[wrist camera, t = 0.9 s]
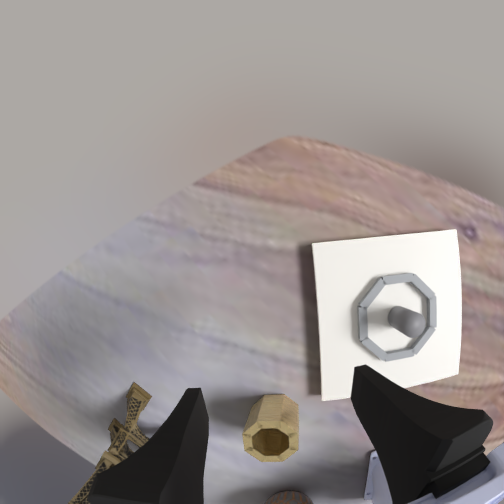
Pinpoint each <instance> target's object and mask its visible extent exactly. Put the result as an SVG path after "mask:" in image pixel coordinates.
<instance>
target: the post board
mask: <svg viewBox="0 0 504 504" xmlns="http://www.w3.org/2000/svg"><path fill="white" fill-rule="evenodd" d="M312 254H313V265H314V276H315V288H316V300H317V315H318V331H319V350H320V374H321V398H322V401H327V400H336V399H344V398H351V391H352V383H353V375H354V367H357V366H361V365H365V364H366V365H368V366H369V367H371V368H372V369H374V370H375V371H377V372H378V373H380V374H381V375H383V376H384V377H386V378H388V379H389V380H391V381H392V382H394V383H396V384H397V385H399V386H401V387H403V388H407V387H411V386H416V385H420V384H424V383H428V382H432V381H436V380H439V379H443V378H446V377H450V376H453V375H457V374H458V370H459V360H460V347H461V324H462V295H461V272H460V258H459V248H458V239H457V231H456V229H455V230H445V231H434V232H424V233H413V234H403V235H393V236H382V237H372V238H362V239H352V240H341V241H331V242H321V243H312Z"/></svg>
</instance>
